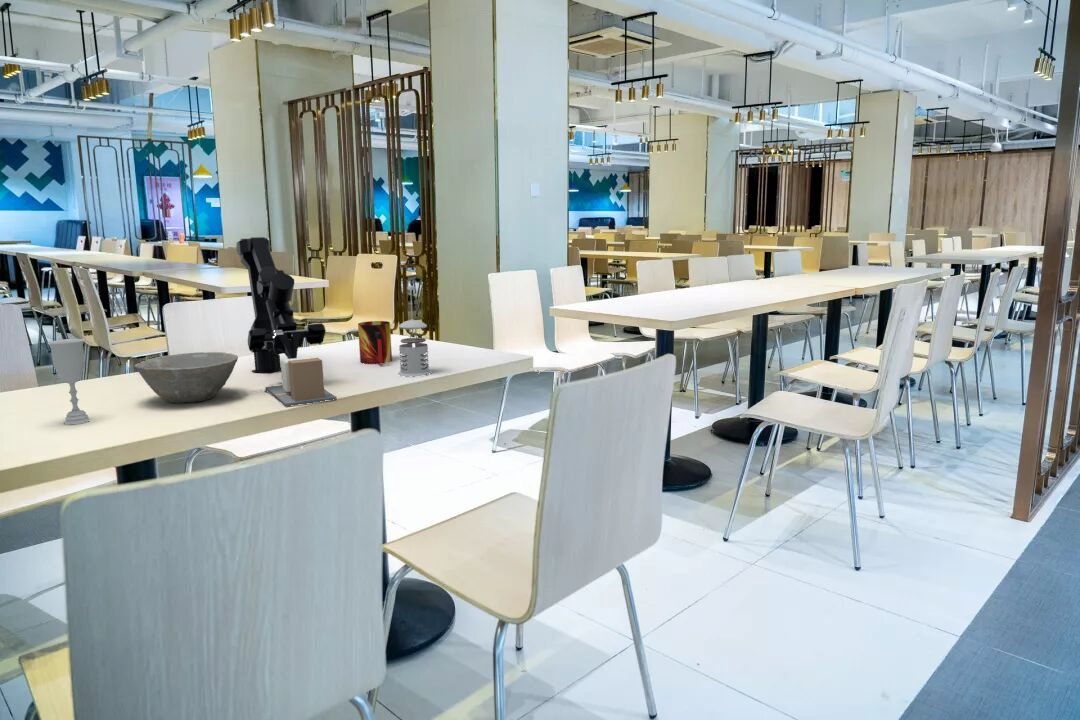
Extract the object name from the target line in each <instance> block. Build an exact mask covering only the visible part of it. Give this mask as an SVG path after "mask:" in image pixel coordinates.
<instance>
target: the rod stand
mask: <svg viewBox="0 0 1080 720" xmlns="http://www.w3.org/2000/svg"><path fill="white" fill-rule="evenodd" d="M288 365H289V377H290V390H291V391H290V392H287V391H286V390H285V389H283V384H281V385H279V384H278V385H271V386H265V391H266V392H267V391H268V392H267V393H268V394H269V395H271V396H272V397H273V396H274V397H275V398H274V397H273V398H274V399H275V400H277V401H278V403H280V402H281V403H282V404H281V403H280V404H281V405H283V406H284V407H285V406H290V407H292V406H291V405H298V404H305V405H308V404H307V403H312V404H314V403H313V402H319V403H321V402H320V401H325V400H333V399H334V401H337V396H335V395H334V394H332V393H331V392H329V391H328V390H326V389H325V381H324V370H323V369H324V367H323V366H324V365H323V359H320V358H319V357H314V358H313V357H311V359H301V360H292V361H288ZM298 406H299V405H298Z"/></svg>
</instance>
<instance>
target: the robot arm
mask: <svg viewBox="0 0 1080 720" xmlns="http://www.w3.org/2000/svg"><path fill="white" fill-rule="evenodd" d="M236 253H237V255H238V256H239V260H240V262H241V264H242V265H243V266H244V267H245V269H246V270H247V273H248V280H249V287H250V292H251V299H252V305H253V312H254V320H253V322H252V324H251V326H250V329H249V331H248V334H247V346H248V349H249V352H251V353H253V357H254V358H253V359H254V368H255V369H252V370H251V373H261V374H262V373H263V374H271V373H274V372H278V371H281V356H280V355H282V354H283V355H285V357H286V359H293V358H298V350H299V348H301V347H303V344H304V343H303V342H304V339H305V340H306V343H307V344H309V345H319V344H323V342H324V339H325V336H326V331H327V330H326V327H325V325H324V324H323V323H321V322H319V323H318V322H317V323H309V324H307V327H306V329H298V327H297V326H298V325H297V322H296V320H295V318H294V311H293V309H292V307H291V303H290V302H291V301H292V298H293V292H294V287H295V279H294V277H292V276H291V275H290V274H288V273H285V272H284V270H283V269H281V270H280V269H277V268H276V265H275V262H274V259H273V257H272V254H271V253H272V252H271V245H270V239H268V238H267V237H264V236H262V237H261V236H259V237H258V236H257V237H253V236H252V237H250V238H240V240H239V241H237V242H236Z"/></svg>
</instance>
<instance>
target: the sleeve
mask: <svg viewBox="0 0 1080 720" xmlns="http://www.w3.org/2000/svg"><path fill="white" fill-rule="evenodd" d="M311 358H312V356H304V357H297V358H293V359H288V358H285V359H280V364H281V370H280V371H281V379H282V380H281V382H282V385H283V389H285V390H286V391H287V392H290V391H291V390H290V377H289V365H288V361H292V360H301V359H311Z"/></svg>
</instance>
